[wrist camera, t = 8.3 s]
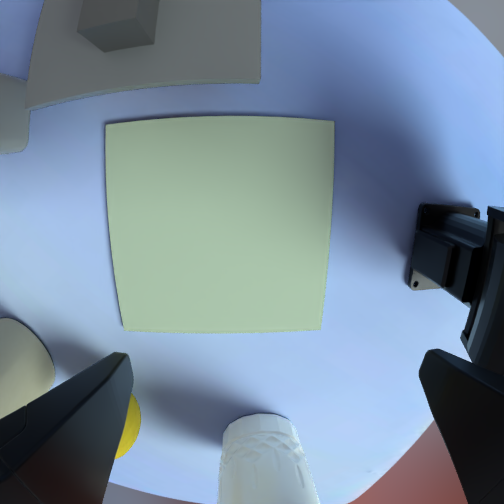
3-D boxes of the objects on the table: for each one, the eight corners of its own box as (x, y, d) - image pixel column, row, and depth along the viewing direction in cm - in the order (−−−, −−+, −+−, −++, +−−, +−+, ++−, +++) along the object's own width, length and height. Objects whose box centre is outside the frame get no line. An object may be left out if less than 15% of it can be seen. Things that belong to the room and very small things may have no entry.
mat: (332, 122, 17) (334, 121, 17) (319, 326, 21) (320, 329, 21) (108, 125, 16) (105, 124, 16) (125, 327, 20) (124, 330, 20)
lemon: (78, 365, 21) (39, 430, 13) (129, 355, 21) (96, 430, 13) (109, 410, 23) (85, 476, 15) (160, 404, 23) (143, 479, 15)
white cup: (200, 425, 24) (193, 520, 14) (280, 395, 23) (301, 497, 13) (242, 464, 26) (248, 543, 16) (313, 439, 25) (336, 522, 16)
